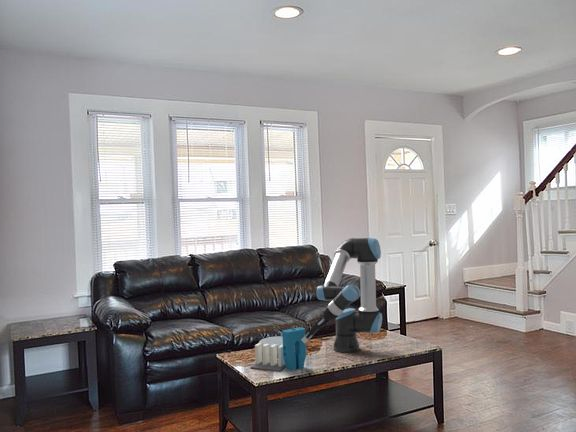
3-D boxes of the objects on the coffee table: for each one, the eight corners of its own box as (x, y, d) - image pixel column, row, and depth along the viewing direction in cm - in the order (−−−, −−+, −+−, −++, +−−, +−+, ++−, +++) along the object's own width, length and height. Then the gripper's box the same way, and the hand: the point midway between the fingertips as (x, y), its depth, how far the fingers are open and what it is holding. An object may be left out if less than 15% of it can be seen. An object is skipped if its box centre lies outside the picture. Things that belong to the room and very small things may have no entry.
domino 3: (277, 363, 273) (276, 344, 273) (273, 365, 269) (272, 346, 269) (274, 362, 274) (274, 344, 274) (270, 365, 270) (270, 346, 269)
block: (301, 364, 272) (300, 327, 272) (307, 366, 268) (306, 328, 268) (282, 369, 265) (281, 330, 265) (288, 371, 261) (286, 332, 261)
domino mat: (292, 362, 276) (292, 361, 276) (279, 371, 261) (279, 370, 261) (263, 359, 283) (263, 358, 283) (250, 368, 268) (250, 366, 268)
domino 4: (285, 363, 272) (284, 345, 272) (281, 366, 267) (280, 347, 267) (282, 363, 272) (281, 344, 272) (278, 366, 268) (277, 347, 268)
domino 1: (262, 361, 277) (261, 343, 277) (258, 364, 272) (257, 345, 272) (259, 361, 278) (259, 342, 278) (255, 363, 273) (254, 345, 273)
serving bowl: (275, 345, 312) (275, 334, 312) (302, 351, 299) (302, 339, 298) (252, 353, 296) (251, 341, 296) (279, 359, 282) (279, 347, 282)
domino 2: (269, 362, 275) (269, 343, 275) (265, 365, 271) (265, 346, 271) (267, 362, 276) (266, 343, 276) (263, 364, 271) (262, 345, 271)
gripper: (334, 318, 250) (303, 350, 257) (342, 313, 262) (312, 343, 269) (323, 307, 252) (293, 339, 259) (332, 302, 264) (303, 333, 271)
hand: (303, 341), depth 264 cm, fingers closed
